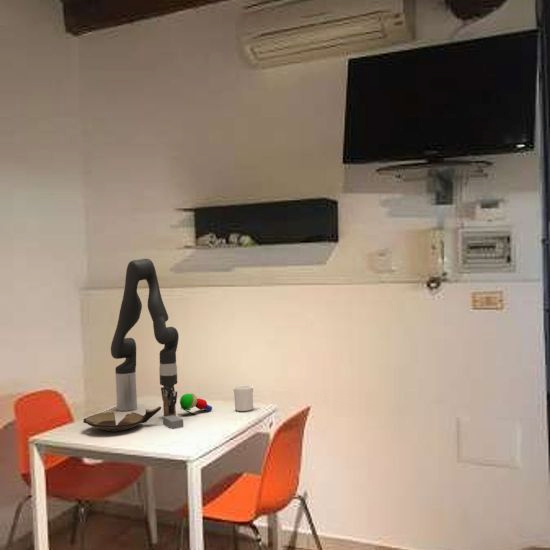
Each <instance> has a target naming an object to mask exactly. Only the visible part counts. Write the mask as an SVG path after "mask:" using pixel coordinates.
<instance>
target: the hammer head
mask: <svg viewBox="0 0 550 550" xmlns="http://www.w3.org/2000/svg"><path fill="white" fill-rule="evenodd" d="M162 424H163V425H164V426H166V427H168V428H169V429H171V430H174V429H179V428H184V419H183V418H181V417H179V416H177V415H176V416H175V415H171V416H165V417H164V416H163V417H162Z"/></svg>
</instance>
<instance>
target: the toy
mask: <svg viewBox="0 0 550 550" xmlns="http://www.w3.org/2000/svg"><path fill="white" fill-rule="evenodd" d="M179 404H180V407H179V409H180V410H182V411H185V412H187V413H189V414H192V415H195V413H193V412H191V409H192V408H194V407H195V408H196V409H198V410H199V411H201V410H202V411H203V410H205V411H208V412H211V411H212V410H213V406H211V405H209V404H208V402H207V400H206V399H203V398H197V395H195V394H194V393H185V394H183V395H182V396H181V397H180V399H179Z"/></svg>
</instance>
